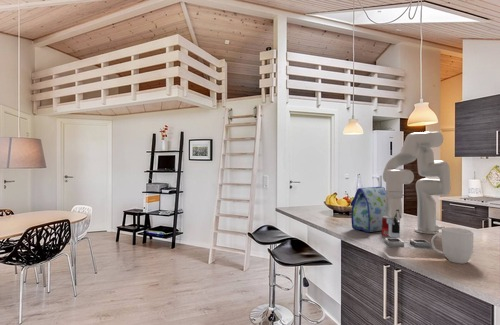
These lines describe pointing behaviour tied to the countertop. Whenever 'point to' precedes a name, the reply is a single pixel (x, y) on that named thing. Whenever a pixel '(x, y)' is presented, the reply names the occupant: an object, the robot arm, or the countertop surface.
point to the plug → (390, 222)
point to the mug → (455, 244)
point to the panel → (407, 243)
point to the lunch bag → (368, 209)
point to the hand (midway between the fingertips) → (394, 231)
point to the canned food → (385, 226)
